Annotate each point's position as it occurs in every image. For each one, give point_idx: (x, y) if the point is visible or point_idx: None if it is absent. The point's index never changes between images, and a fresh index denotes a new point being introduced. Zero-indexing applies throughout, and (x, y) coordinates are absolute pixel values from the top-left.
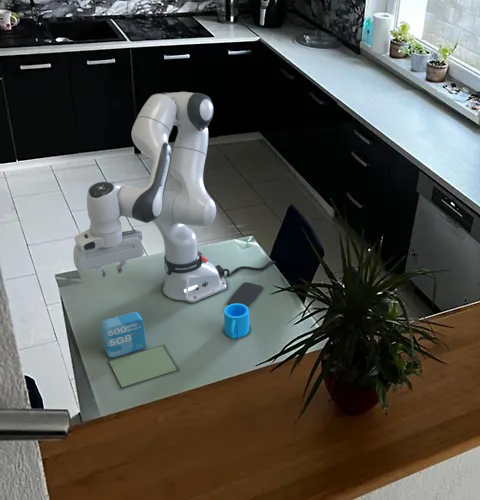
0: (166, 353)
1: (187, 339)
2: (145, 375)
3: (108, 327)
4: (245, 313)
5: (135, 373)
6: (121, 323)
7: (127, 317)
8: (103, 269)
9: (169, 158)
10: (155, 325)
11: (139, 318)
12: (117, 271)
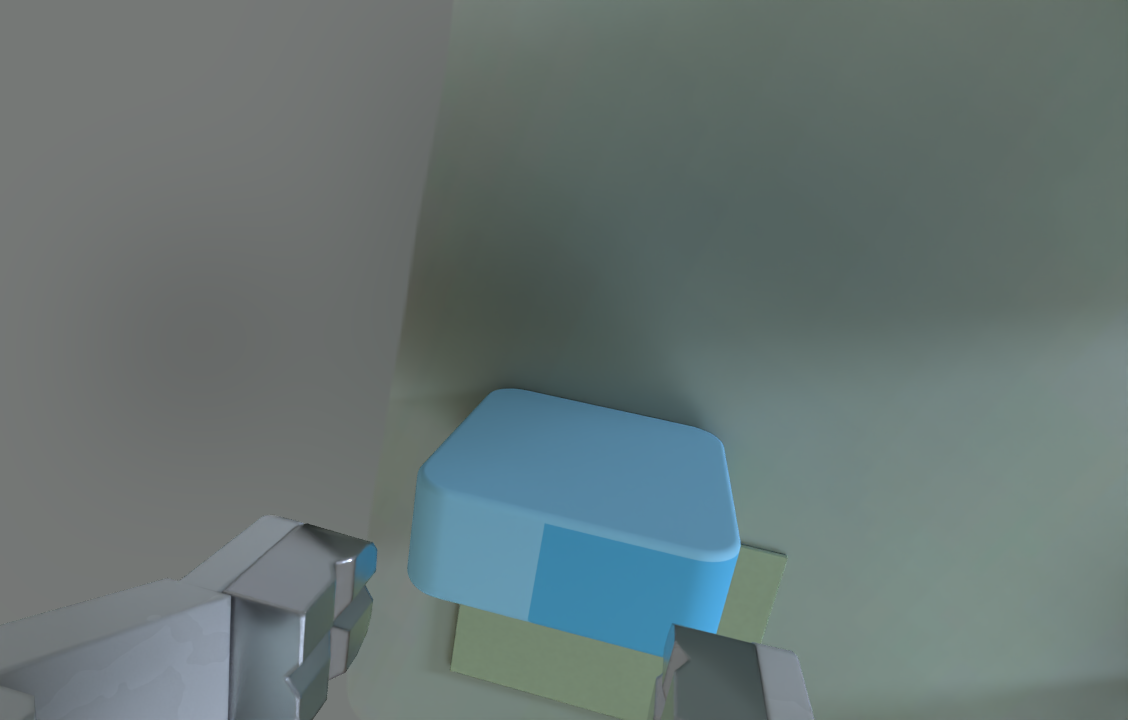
0: (762, 625)
1: (950, 598)
2: (577, 682)
3: (426, 591)
4: None
5: (545, 641)
6: (530, 617)
7: (609, 586)
8: (297, 610)
9: None
10: (888, 354)
11: None
12: (668, 638)
